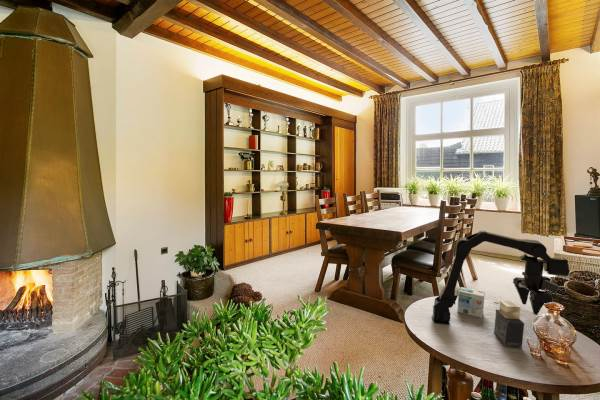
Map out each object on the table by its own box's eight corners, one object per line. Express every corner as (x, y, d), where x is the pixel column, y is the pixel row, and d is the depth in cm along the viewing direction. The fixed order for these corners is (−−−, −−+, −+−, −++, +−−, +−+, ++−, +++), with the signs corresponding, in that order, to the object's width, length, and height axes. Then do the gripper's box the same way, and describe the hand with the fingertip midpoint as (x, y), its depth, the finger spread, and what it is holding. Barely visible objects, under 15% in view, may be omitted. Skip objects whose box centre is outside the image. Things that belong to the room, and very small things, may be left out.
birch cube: (505, 318, 119) (506, 306, 118) (499, 312, 124) (500, 300, 123) (519, 319, 118) (520, 307, 118) (512, 313, 123) (513, 301, 123)
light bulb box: (457, 312, 146) (458, 290, 145) (458, 307, 152) (460, 286, 151) (482, 318, 140) (484, 296, 139) (483, 312, 146) (485, 291, 144)
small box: (523, 349, 116) (525, 323, 115) (504, 347, 117) (506, 321, 116) (510, 334, 126) (512, 310, 125) (493, 332, 128) (494, 309, 127)
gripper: (572, 282, 109) (567, 323, 111) (544, 266, 127) (540, 301, 129) (536, 279, 112) (532, 319, 114) (514, 264, 130) (510, 298, 132)
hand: (529, 309), depth 122 cm, fingers open, 9 cm apart
